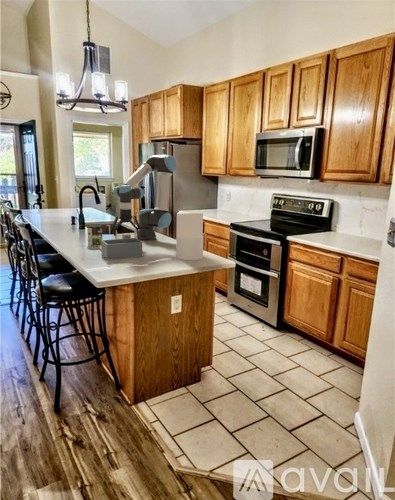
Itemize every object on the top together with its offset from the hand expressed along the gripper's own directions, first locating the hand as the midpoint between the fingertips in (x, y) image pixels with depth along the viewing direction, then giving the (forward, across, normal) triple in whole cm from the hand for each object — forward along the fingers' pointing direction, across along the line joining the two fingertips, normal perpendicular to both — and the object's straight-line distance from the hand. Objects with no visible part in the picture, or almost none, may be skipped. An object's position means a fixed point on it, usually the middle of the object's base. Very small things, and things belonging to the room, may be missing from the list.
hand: (126, 239), depth 241 cm
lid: (+7, +6, 0) cm, 9 cm away
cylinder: (+7, -32, +34) cm, 47 cm away
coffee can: (+7, +16, -20) cm, 27 cm away
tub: (+6, +8, +19) cm, 22 cm away
